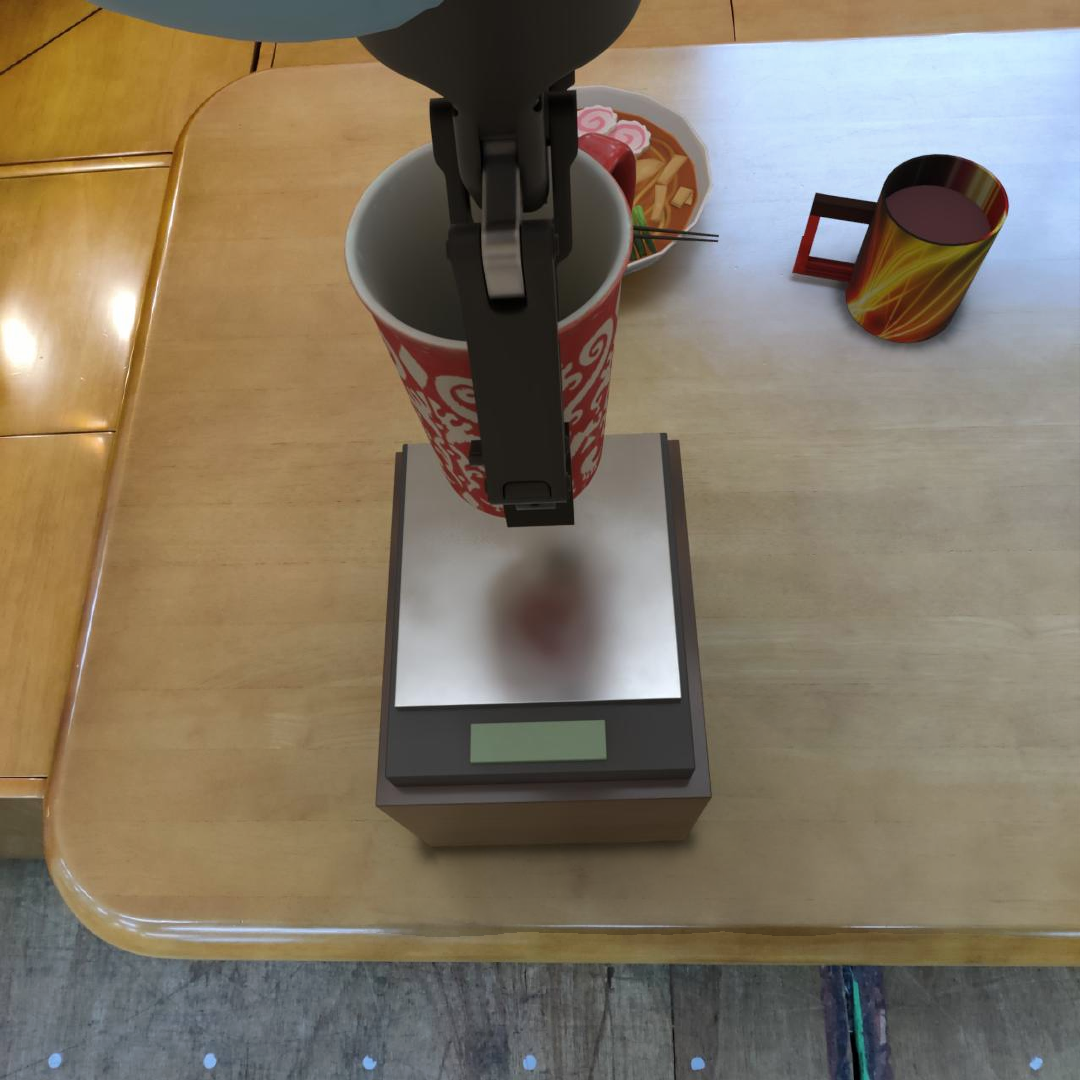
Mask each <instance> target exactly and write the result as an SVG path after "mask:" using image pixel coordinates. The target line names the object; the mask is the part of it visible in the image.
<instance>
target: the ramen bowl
mask: <svg viewBox="0 0 1080 1080" xmlns="http://www.w3.org/2000/svg"><path fill="white" fill-rule="evenodd" d="M567 90H576V93H577V121H578V138H579V137H580V136H582V135H584V134H587V133H599V134H602V135H606V136H609V137H612V138H614V139H617V140H620V141H621V142H623V143H625V144H627V145H628V146H629V147H630V148H631V150H632V151H633V153H634V156H635V161H636V187H635V196H634V202H633V208H632V213H631V216H632V222H633V245H632V252H631V256H630V259H629V263H628V266H627V268H626V271H625V273H624V275H623V277H624V276H627V275H629V274H632V273H635V272H638V271H640V270H643V269H645V268H648V267H650V266H652V265H654V264H655V263H656V262H658V261H659V260H660V259H661V258H662V257H663V256H664V255H666V253H668V252H669V251H670V250H671V249H672V248H673V247H674V246H676V244H678V243H679V242H681V241H683V242H704V243H705V242H706V243H719V239H712V238H720V235H719V234H713V233H705V232H697V231H696V232H695V231H691V230H692V229H693V228H694V227H695V226H696V224H697V223H698V221H699V219H700V217H701V215H702V213H703V210H704V208H705V205H706V203H707V200H708V199H709V196H710V193H711V190H712V189H713V186H714V183H713V178H712V170H711V163H710V162H711V161H710V156H709V149H708V147H707V145H706V144H705V142H704V141H703V140H702V138H701V137H700V136H699V134H698V133H697V131H696V130H695V129H694V127H693V126H692V124H691V123H690V122H689V120H688V119H687V117H686V116H685V115H683V114H682V113H680V112H678V111H676V110H675V109H673V108H672V107H669V106H668V105H666V104H665V103H662V102H661V101H660V100H657V99H656V98H654V97H652V96H650V95H649V94H648V93H647V94H646V93H642V92H637V91H634V90H629V89H624V88H620V87H615V86H611V85H606V84H592V85H591V84H590V85H589V84H588V85H576V86H571V87H570V88H568V89H567ZM686 235H687V236H699V237H711V239H710V238H709V239H708V238H696V237H685V236H686Z"/></svg>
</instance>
